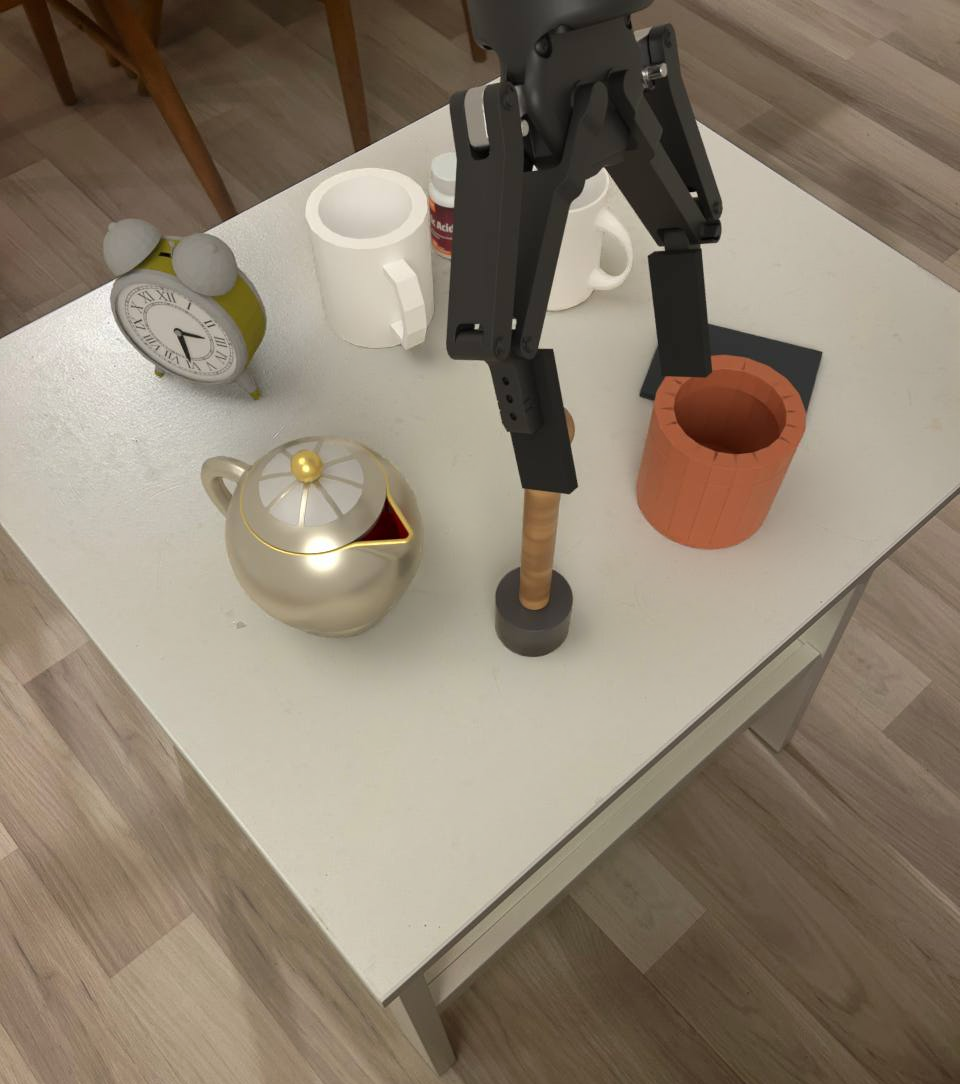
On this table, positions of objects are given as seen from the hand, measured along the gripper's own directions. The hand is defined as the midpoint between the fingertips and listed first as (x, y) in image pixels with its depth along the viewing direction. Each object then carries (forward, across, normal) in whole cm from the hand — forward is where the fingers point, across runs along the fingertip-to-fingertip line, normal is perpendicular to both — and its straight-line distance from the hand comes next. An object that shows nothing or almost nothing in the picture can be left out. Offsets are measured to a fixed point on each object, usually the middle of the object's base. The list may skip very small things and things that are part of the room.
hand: (624, 427), depth 47 cm
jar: (+17, -24, -9) cm, 31 cm away
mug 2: (+4, -36, -28) cm, 46 cm away
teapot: (+15, +1, -29) cm, 32 cm away
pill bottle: (-1, -34, -39) cm, 52 cm away
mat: (+12, -36, -12) cm, 40 cm away
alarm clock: (+2, -9, -48) cm, 49 cm away
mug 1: (+2, -23, -40) cm, 46 cm away
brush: (+20, -6, -15) cm, 25 cm away
